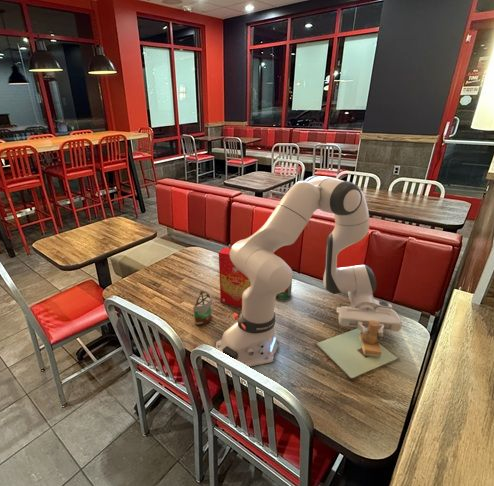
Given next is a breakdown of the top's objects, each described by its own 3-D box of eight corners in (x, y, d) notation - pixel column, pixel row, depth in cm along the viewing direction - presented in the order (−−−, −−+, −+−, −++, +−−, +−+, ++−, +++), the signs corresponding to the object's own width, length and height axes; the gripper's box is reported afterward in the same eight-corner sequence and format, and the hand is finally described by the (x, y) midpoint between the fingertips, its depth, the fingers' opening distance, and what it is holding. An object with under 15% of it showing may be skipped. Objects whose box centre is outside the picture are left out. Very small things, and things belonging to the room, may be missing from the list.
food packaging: (220, 302, 138) (218, 252, 128) (225, 296, 142) (223, 247, 132) (252, 309, 133) (253, 258, 122) (256, 302, 137) (256, 252, 126)
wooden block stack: (359, 336, 112) (363, 313, 108) (374, 338, 111) (379, 315, 107) (364, 355, 105) (369, 331, 100) (380, 357, 103) (386, 333, 99)
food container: (209, 329, 123) (208, 308, 118) (194, 327, 124) (193, 307, 120) (215, 310, 134) (214, 290, 129) (202, 308, 135) (200, 289, 130)
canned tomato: (289, 291, 144) (291, 270, 139) (292, 301, 137) (293, 280, 132) (272, 291, 144) (273, 270, 140) (273, 301, 137) (274, 279, 133)
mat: (351, 380, 98) (351, 378, 98) (315, 344, 112) (316, 343, 112) (397, 360, 104) (398, 358, 104) (358, 329, 119) (358, 327, 118)
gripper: (336, 299, 117) (341, 323, 105) (396, 304, 113) (408, 330, 101) (334, 312, 120) (339, 337, 108) (392, 318, 116) (404, 344, 104)
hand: (373, 334), depth 104 cm, fingers closed on wooden block stack, 3 cm apart
